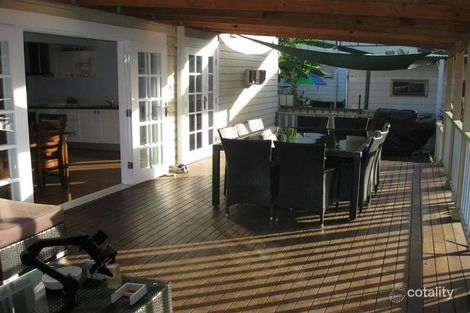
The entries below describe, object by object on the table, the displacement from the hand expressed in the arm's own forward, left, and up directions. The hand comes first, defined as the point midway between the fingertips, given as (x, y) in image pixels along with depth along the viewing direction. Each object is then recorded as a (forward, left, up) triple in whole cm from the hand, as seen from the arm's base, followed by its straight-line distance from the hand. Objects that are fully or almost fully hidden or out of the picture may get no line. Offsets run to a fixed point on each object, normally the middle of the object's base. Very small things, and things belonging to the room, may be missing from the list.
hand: (115, 274), depth 232 cm
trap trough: (+3, -4, -13) cm, 14 cm away
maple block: (0, +1, -7) cm, 7 cm away
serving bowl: (+8, +42, -14) cm, 45 cm away
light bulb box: (+21, +29, -14) cm, 38 cm away
